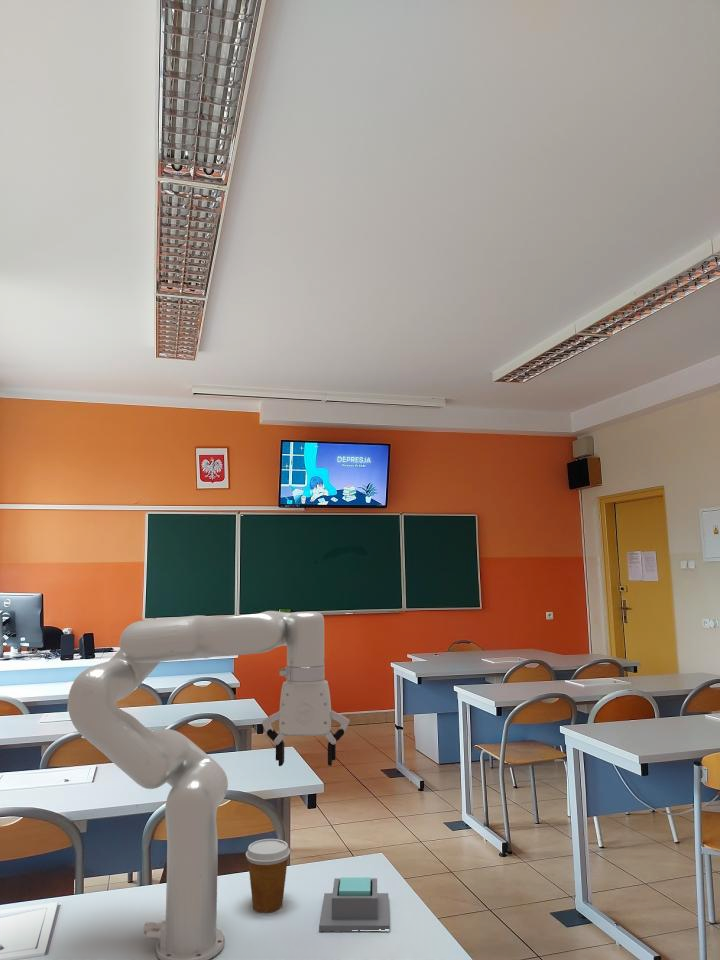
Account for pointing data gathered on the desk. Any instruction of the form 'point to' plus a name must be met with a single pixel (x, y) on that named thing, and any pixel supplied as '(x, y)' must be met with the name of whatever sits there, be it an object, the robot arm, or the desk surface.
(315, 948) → the desk surface
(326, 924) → the button housing
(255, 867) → the disposable coffee cup
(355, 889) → the button cap
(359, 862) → the desk surface
